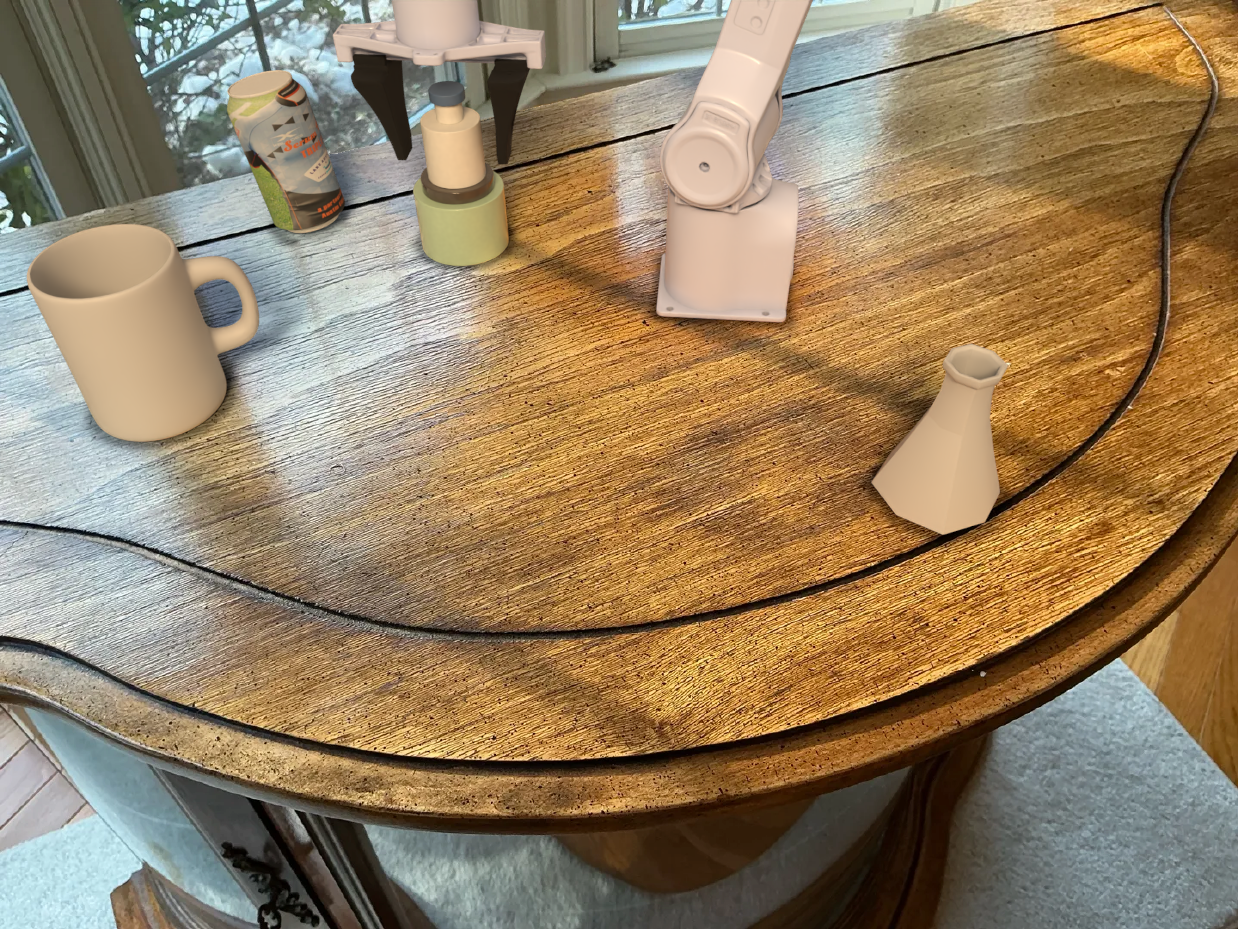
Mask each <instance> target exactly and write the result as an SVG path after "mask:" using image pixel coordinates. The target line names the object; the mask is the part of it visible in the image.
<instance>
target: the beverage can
mask: <svg viewBox="0 0 1238 929" xmlns="http://www.w3.org/2000/svg"><path fill="white" fill-rule="evenodd" d="M226 92H227V95H228V102H227V105H226V106H227V108H226V112H227V115H228V117H229V120H230V122H231V125H232V127H233V129H234V131H235V134H236V136H237V138H238V141H239V143H240V146H241V148H242V151H243V153H244V156H245V158H246V160H247V162H248V165H249V167H250V169H251V172H252V175H253V177H254V180H255V182H256V184H257V186H258V189H259V191H260V194H261V196H262V199H263V201H264V203H265V206H266V208H267V211H268V213H269V216H270V218H271V220H272V222H273V225H275V227H277V228H278V229H281V230H285V231H288V232H290V233H295V234H305V233H306V234H307V233H311V232H315V231H319V230H321V229H324V228H326V227H328V226H329V225H331V224H332V223H334V222H335V221H336V220H337V219H338V218H339V216H340V213H342V211H343V210H344V209H345V206H346V199H345V196H344V194H343V191H342V189H341V186H340V183H339V180H338V178H337V174H336V172H335V169H334V166H333V162H332V161H331V158H330V155H329V153H328V149H327V147H326V144H325V142H324V139H323V136H322V133H321V130H320V127H319V124H318V122H317V119H316V116H315V113H314V111H313V108H312V104H311V102H310V100H309V97H308V94H307V91H306V90H305V88H304V86H303V85H302V84H300V83H299V82H298V81H297V80H296V79H294V78H293V75H292V73H291V72H290V71H288V70H284V69H283V70H282V69H280V70H279V69H276V70H267V71H261V72H257V73H254V74H251V75H248V76H246V77H242V78H241V79H239V80H237V81H235V82H233V83H232V84H231V85H229V87H228V88H227V91H226Z"/></svg>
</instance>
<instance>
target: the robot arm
mask: <svg viewBox="0 0 1238 929" xmlns="http://www.w3.org/2000/svg"><path fill="white" fill-rule="evenodd" d="M813 2H814V0H730V2H729V5H728V8H727V11H726V14H725V17H724V20H723V24H722V26H721V29H720V32H719V35H718V37H717V41H716V44H715V46H714V48H713V51H712V54H711V56H710V58H709V61H708V63H707V65H706V67H705V69H704V72H703V73H702V75H701V78H700V80H699V82H698V85H697V86H696V89H695V91H694V94H693V97H692V99H691V101H690V103H689V105H687V108H686V109H685V111H684V112H683V114H682V115H681V117H680V118H679V120H678V121H677V123H676V124H674V125H673V127H671V128H670V130H668V131H667V134H666V135H665V136H664V138H663V140H662V143H661V146H660V150H659V166H660V167H659V168H660V171H661V174H662V177H663V179H664V181H665V183H666V184H667V198H666V199H667V202H666V224H665V225H666V226H665V227H666V230H665V252H664V253H663V254H662V255H661V261H660V270H659V280H658V289H657V298H656V299H657V300H656V309H655V310H656V315H657V316H660V317H665V318H667V317H668V318H686V319H687V318H688V319H706V320H722V321H723V320H724V321H725V320H727V321H748V322H765V323H783V322H785V321H786V320H787V308H788V306H787V305H788V300H789V299H788V298H789V293H790V286H791V281H792V280H793V275H794V268H795V267H794V266H795V250H796V243H797V234H798V223H799V211H800V210H799V207H800V206H799V205H800V203H799V202H800V194H799V193H800V192H799V185H798V184H797V183H794V182H789V181H784V180H781V179H776V178H774V177H773V174H772V173H771V167H770V164H769V162H768V158H767V156H766V155H765V152H766V150H767V149H768V146H769V145H770V143H771V141H772V139H773V138H774V137H775V135H776V134H777V133H778V131H779V129H780V126H781V124H782V121H783V115H784V105H783V104H784V103H783V96H782V93H783V92H782V89H783V84H784V80H785V77H786V75H787V72H788V70H789V68H790V65H791V64H790V63H791V58H792V55H793V52H794V49H795V47H796V45H797V42H798V39H799V36H800V34H801V32H802V29H803V27H804V25H805V22H806V19H807V16H808V14H809V12H810V9H811V7H812V5H813ZM391 6H392V12H393V17H394V19H393V20H386V21H377V22H376V21H375V22H365V23H340V25H339V26H338V27H337V28H336V30H335V31H334V33H333V34H332V39H333V44H334V48H335V54H336V59H337V62H338V63H353V71H352V72H351V74H350V80H351V83H352V86H353V88H354V89H355V90H356V91H357V92H358V94H360V96H361V97H362V98H363V99H364V101H365V102H366V103H367V104H368V106H369V107H370V108H371V110H372V111H373V113H374V114H375V116H376V117H377V119H378V121H379V123H380V124H381V126H382V128H383V130H384V131H385V132H384V133H385V134H386V136H387V138H388V140H389V142H390V144H391V147H392V149H393V152H394V154H395V157H396V159H397V161H407V159H408V158H409V156H410V154H411V152H412V150H413V137H412V131H411V130H412V129H411V126H410V120H409V116H408V111H407V105H406V104H407V103H406V98H405V88H404V87H405V86H404V74H403V61H409V62H410V61H412V63H413V64H414V65H416V66H422V67H423V66H426V67H438V66H442V65H444V63H466V64H467V63H468V64H469V63H472V64H494V66H493V67H492V69H491V70H490V74H489V76H488V78H487V80H486V83H487V84H486V85H487V90H488V94H489V98H490V103H491V109H492V115H493V120H494V121H493V122H494V128H495V155H496V161H497V165H501V166H502V165H504V166H505V165H508V163H509V161H510V158H511V156H512V145H513V144H512V143H513V134H514V126H515V122H516V121H515V120H516V117H517V116H516V115H517V111H518V107H519V103H520V99H521V96H522V92H523V90H524V86H525V85H526V81H527V79H528V76H529V73H530V71H531V70H542V69H543V67H544V65H545V62H546V59H547V51H546V32H545V30H542V29H541V30H540V29H528V28H521V27H515V26H509V25H504V24H498V23H493V22H488V21H482V20H480V16H479V5H478V0H391Z"/></svg>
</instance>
